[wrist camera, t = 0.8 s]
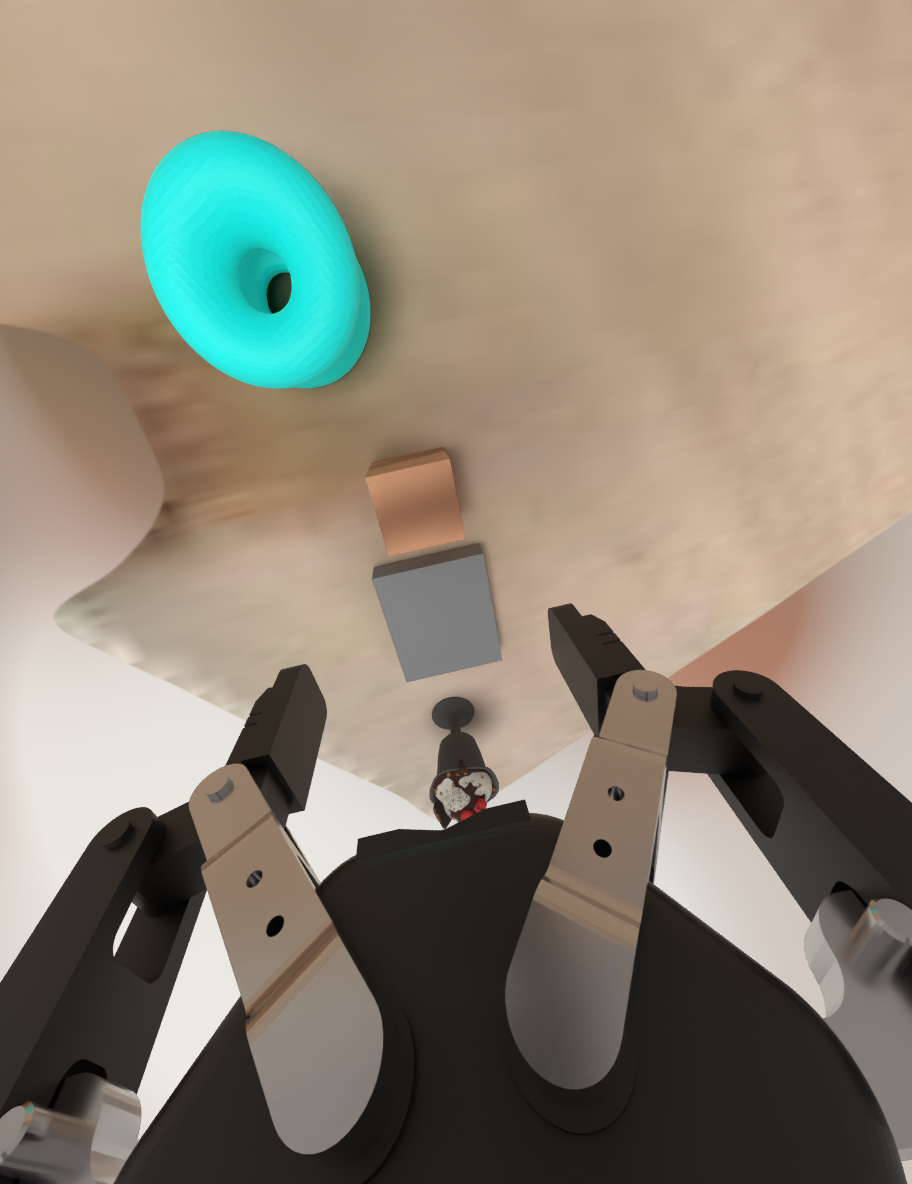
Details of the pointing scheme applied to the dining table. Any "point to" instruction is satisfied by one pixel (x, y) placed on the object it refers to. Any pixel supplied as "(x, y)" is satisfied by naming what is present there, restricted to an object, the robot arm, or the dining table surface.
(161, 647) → the dining table surface
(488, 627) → the base
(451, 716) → the sundae
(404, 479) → the cube
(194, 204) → the donuts
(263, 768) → the robot arm
